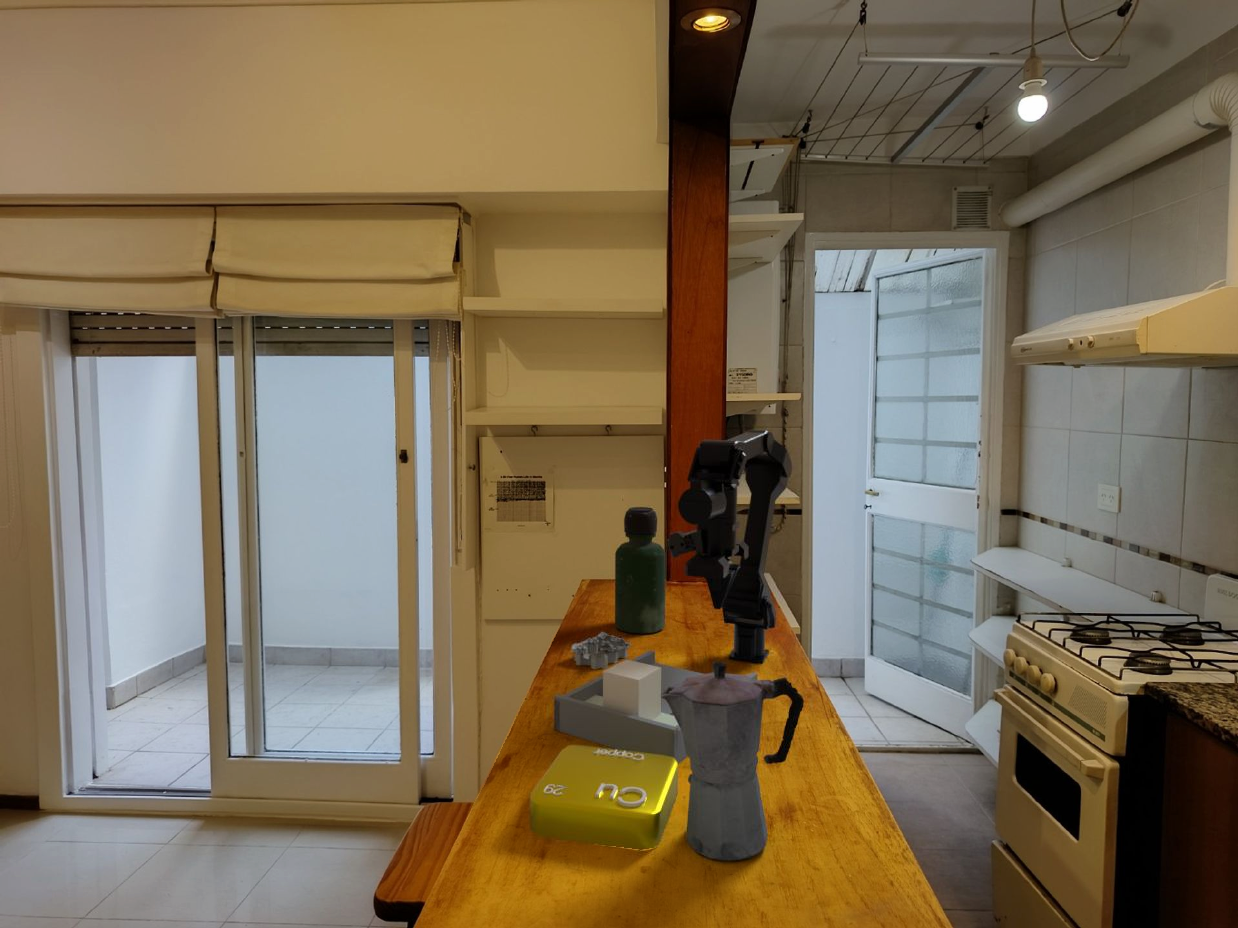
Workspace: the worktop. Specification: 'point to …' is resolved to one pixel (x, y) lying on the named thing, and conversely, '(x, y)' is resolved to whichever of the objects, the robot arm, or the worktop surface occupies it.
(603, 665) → the egg carton
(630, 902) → the worktop surface
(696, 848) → the moka pot
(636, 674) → the cream block
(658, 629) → the green capped bottle
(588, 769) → the element tile
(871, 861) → the worktop surface
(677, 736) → the gray open tray
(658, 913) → the worktop surface
